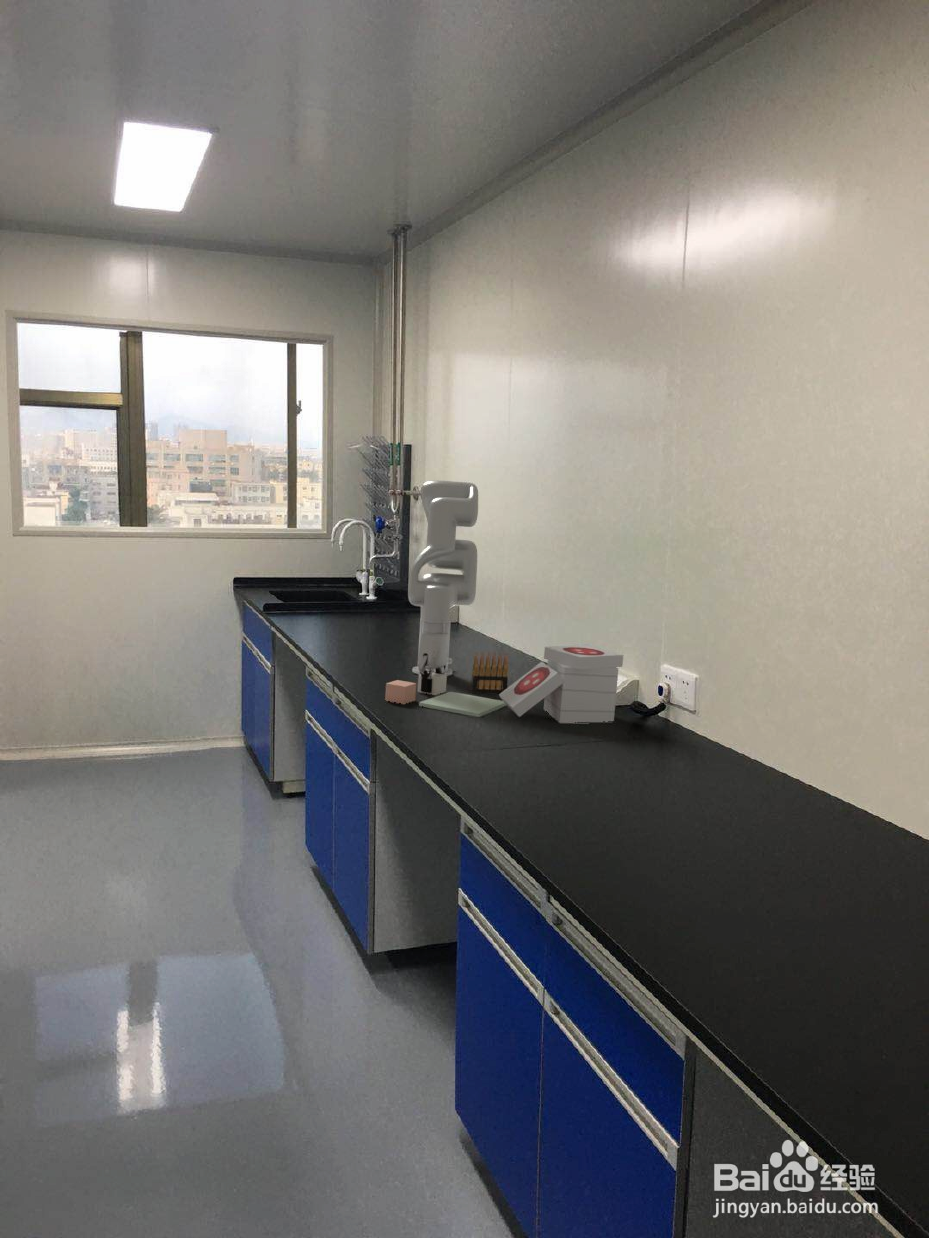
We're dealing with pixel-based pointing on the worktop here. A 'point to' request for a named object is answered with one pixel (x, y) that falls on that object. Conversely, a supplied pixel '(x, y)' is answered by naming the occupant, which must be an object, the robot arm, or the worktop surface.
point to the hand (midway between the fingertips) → (431, 689)
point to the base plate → (463, 704)
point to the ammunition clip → (489, 675)
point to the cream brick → (435, 683)
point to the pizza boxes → (569, 685)
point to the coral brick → (400, 691)
